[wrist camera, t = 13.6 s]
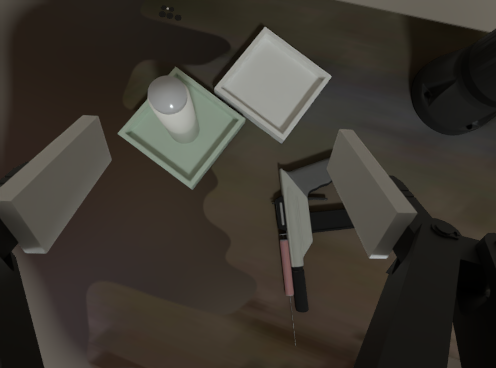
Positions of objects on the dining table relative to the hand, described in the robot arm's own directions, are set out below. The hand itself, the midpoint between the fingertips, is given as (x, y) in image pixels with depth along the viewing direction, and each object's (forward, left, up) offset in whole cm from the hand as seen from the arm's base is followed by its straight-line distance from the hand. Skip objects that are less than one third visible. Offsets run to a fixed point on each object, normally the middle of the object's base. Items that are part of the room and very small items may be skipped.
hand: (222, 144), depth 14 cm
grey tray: (-20, -5, -30) cm, 36 cm away
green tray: (-4, -12, -30) cm, 32 cm away
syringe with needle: (-2, +19, -30) cm, 36 cm away
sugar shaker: (-4, -12, -29) cm, 32 cm away
